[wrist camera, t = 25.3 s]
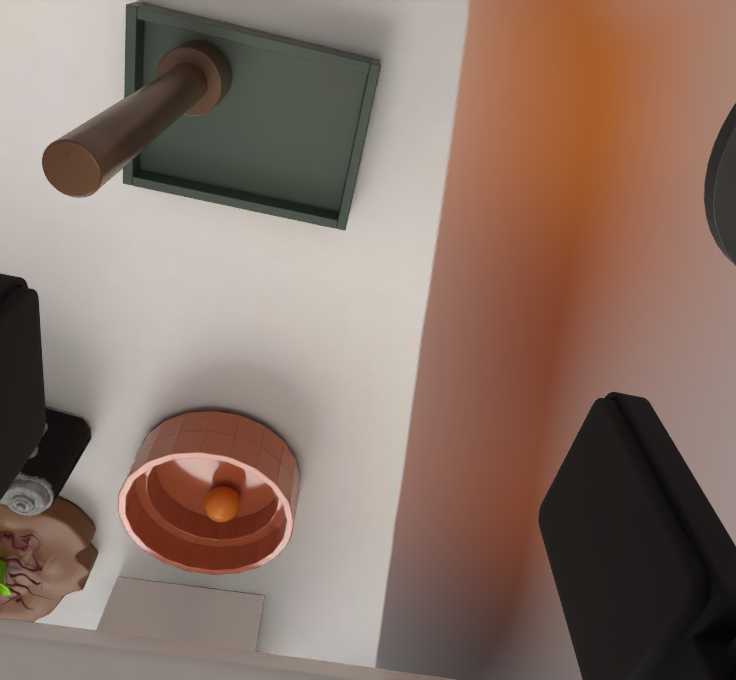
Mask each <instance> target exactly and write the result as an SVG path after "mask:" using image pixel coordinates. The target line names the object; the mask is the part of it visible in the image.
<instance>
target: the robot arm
mask: <svg viewBox="0 0 736 680" xmlns="http://www.w3.org/2000/svg"><path fill="white" fill-rule="evenodd" d="M45 425H46V413H45V397H44V380H43V364H42V347H41V330H40V314H39V299H38V294H37V292H36V291H35V290H34V289H29V288H28V285H27V283H26V281H25V280H24V279H23V278H20V277H15V276H10V275H5V274H0V501H1V499H2V498H3V496H4V495H5V493H6V492H7V490H8V489H9V487H10V486H11V484H12V483H13V481H14V480H15V478H16V477H17V475H18V474H19V472H20V471H21V469H22V468H23V466H24V465H25V463H26V462H27V460H28V459H29V458H30V456H31V455H32V453H33V452H34V450H35V449H36V447H37V446H38V444H39V442H40V441H41V439H42V436H43V434H44V430H45ZM539 526H540V530H541V534H542V537H543V541H544V544H545V548H546V551H547V555H548V558H549V562H550V565H551V569H552V573H553V576H554V579H555V583H556V586H557V590H558V594H559V597H560V601H561V604H562V608H563V611H564V615H565V619H566V622H567V626H568V629H569V633H570V636H571V640H572V643H573V647H574V650H575V654H576V658H577V661H578V665H579V668H580V672H581V675H582V679H583V680H736V546H735V544H734V543H733V541H732V539H731V538H730V536H729V534H728V533H727V531H726V529H725V528H724V526H723V524H722V523H721V521H720V519H719V518H718V516H717V514H716V513H715V511H714V509H713V508H712V506H711V504H710V503H709V501H708V499H707V498H706V496H705V494H704V493H703V491H702V489H701V488H700V486H699V484H698V483H697V481H696V479H695V478H694V476H693V474H692V473H691V471H690V469H689V468H688V466H687V464H686V463H685V461H684V459H683V458H682V456H681V454H680V452H679V451H678V449H677V448H676V446H675V444H674V442H673V441H672V439H671V438H670V436H669V434H668V432H667V431H666V429H665V428H664V426H663V424H662V423H661V421H660V419H659V418H658V416H657V414H656V412H655V411H654V409H653V408H652V406H651V404H650V403H649V401H648V400H647V399H645V398H642V397H637V396H632V395H627V394H622V393H617V392H612V393H609V394H608V395H607V396H606V397H605V398H599V399H597V400H596V401H595V402H594V404H593V406H592V407H591V409H590V411H589V413H588V415H587V417H586V419H585V421H584V423H583V425H582V427H581V429H580V431H579V432H578V434H577V436H576V438H575V440H574V442H573V444H572V446H571V448H570V450H569V452H568V454H567V456H566V458H565V460H564V462H563V464H562V465H561V467H560V469H559V471H558V473H557V475H556V477H555V479H554V481H553V483H552V485H551V487H550V489H549V491H548V493H547V495H546V496H545V498H544V500H543V502H542V504H541V507H540V511H539ZM0 680H456V679H449V678H442V677H435V676H427V675H420V674H413V673H406V672H398V671H392V670H385V669H377V668H370V667H363V666H356V665H348V664H341V663H334V662H327V661H319V660H312V659H305V658H298V657H290V656H283V655H276V654H268V653H261V652H254V651H246V650H239V649H232V648H224V647H217V646H210V645H202V644H195V643H187V642H180V641H172V640H164V639H157V638H149V637H142V636H134V635H126V634H119V633H111V632H104V631H96V630H89V629H81V628H73V627H66V626H58V625H51V624H43V623H35V622H28V621H20V620H13V619H5V618H0Z"/></svg>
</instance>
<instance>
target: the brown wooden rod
mask: <svg viewBox="0 0 736 680" xmlns="http://www.w3.org/2000/svg"><path fill="white" fill-rule="evenodd" d="M231 82H232V72H231V68H230V64H229V62H228V60H227V58H226V57H225V55H224V54H223V53H222V52H221V51H220V50H219V49H218V48H217V47H216V46H214V45H213V44H211V43H209V42H206V41H201V40H193V41H188V42H186V43H184V44H182V45H180V46H178V47H176V48H174V49H172V50H171V51H169V52H167V53H166V54H165V55H164V56H163V58H162V59H161V61H160V62H159V65H158V68H157V74H156V79H155V80H154V81H152V82H150V83H149V84H147V85H145V86H144V87H142V88H141V89H139V90H137V91H136V92H134V93H132V94H131V95H129V96H128V97H126V98H124V99H123V100H121V101H119V102H118V103H116V104H114V105H113V106H111V107H110V108H108V109H106V110H105V111H103V112H101V113H100V114H98V115H97V116H95V117H93V118H92V119H90V120H88V121H87V122H85V123H84V124H82V125H80V126H79V127H77V128H75V129H74V130H72V131H70V132H69V133H67V134H66V135H64V136H62V137H61V138H59V139H57V140H56V141H54V142H53V143H51V144H50V145H49V146H48V147H47V148H46V149H45V151H44V154H43V158H42V166H43V171H44V173H45V176H46V178H47V179H48V181H49V182H50V183H51V184H52V185H53V186H54V187H55V188H56V189H57V190H58V191H60V192H61V193H63V194H65V195H68V196H71V197H78V198H81V197H87V196H90V195H92V194H94V193H95V192H96V191H97V190H98V189H99V188H101V187H102V186H103V185H104V184H105V183H106V182H107V181H109V180H110V179H111V178H112V177H113V176H114V175H115V174H116V173H118V172H119V171H120V170H121V169H122V168H123V167H124V166H125V165H127V164H128V163H129V162H130V161H131V160H132V159H133V158H135V157H136V156H137V155H138V154H139V153H140V152H141V151H142V150H144V149H145V148H146V147H147V146H148V145H149V144H150V143H151V142H153V141H154V140H155V139H156V138H157V137H158V136H159V135H161V134H162V133H163V132H164V131H165V130H166V129H167V128H168V127H170V126H171V125H172V124H173V123H174V122H175V121H176V120H177V119H179V118H180V117H181V116H182V115H183V114H184V115H188V116H200V115H204V114H206V113H208V112H210V111H211V110H212V109H213V108H214V107H215V106H216V105H217V104H218V103H219V102H220V101H221V100H222V99H223V98H224V97H225V96H226V95H227V93H228V91H229V89H230V86H231Z"/></svg>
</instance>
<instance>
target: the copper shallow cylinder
mask: <svg viewBox="0 0 736 680" xmlns="http://www.w3.org/2000/svg"><path fill="white" fill-rule="evenodd" d="M299 485H300V476H299V471H298V466H297V461H296V459H295V457H294V456H293V454H292V453H291V451H290V450H289V448H288V447H287V445H286V444H285V442H284V441H283V440H282V439H280V438H279V437H278V436H277V435H275V434H274V433H273V432H272V431H270V430H269V429H268V428H267V427H265V426H263V425H261V424H259V423H257V422H254V421H252V420H250V419H248V418H245V417H243V416H240V415H235V414H229V413H223V412H218V411H205V412H191V413H185V414H182V415H179V416H177V417H174V418H171V419H168V420H166V421H164V422H163V423H161V424H160V425H159V426H158V427H156V428H155V429H154V430H153V431H151V432H150V433H149V434H148V435H147V436H146V438H145V440H144V442H143V444H142V446H141V447H140V449H139V451H138V453H137V456H136V458H135V460H134V462H133V464H132V466H131V468H130V470H129V473H128V475H127V477H126V479H125V481H124V483H123V485H122V488H121V490H120V492H119V500H118V513H119V516H120V518H121V521H122V523H123V525H124V528H125V530H126V532H127V533H128V535H129V536H130V537H131V538H132V539H133V540H134V541H135V542H136V543H137V544H138V545H139V547H140V548H141V549H143V550H144V551H146V552H147V553H149V554H151V555H152V556H154V557H155V558H157V559H158V560H160V561H162V562H163V563H166V564H169V565H172V566H174V567H177V568H180V569H183V570H185V571H191V572H197V573H204V574H211V575H212V574H213V575H217V574H235V573H241V572H244V571H248V570H251V569H255V568H258V567H260V566H262V565H264V564H265V563H267V562H269V561H270V560H272V559H273V558H275V557H277V556H278V555H279V554H280V552H281V551H282V550H283V548H284V547H285V546H286V545H287V543H288V542H289V541H290V538H291V534H292V530H293V525H294V520H295V513H296V506H297V499H298V492H299ZM221 486H226V487H230V488H232V489H233V490H235V491H236V493H237V494H238V496H239V498H240V508H239V511H238V513H237V515H236V516H235V517H234V518H233V519H231V520H229V521H227V522H216V521H214V520H212V519H211V518H209V517H208V515H207V514H206V511H205V507H204V504H205V499H206V497H207V495H208V494H209V492H210V491H212V490H213V489H215V488H217V487H221Z"/></svg>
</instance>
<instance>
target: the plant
mask: <svg viewBox="0 0 736 680" xmlns="http://www.w3.org/2000/svg"><path fill="white" fill-rule="evenodd" d="M94 532H95V528H94V526H93V525H92V523H91V522H90V520H89V519H88V517H87V516H86V515H85V514H84V513H83V512H82V511H81V510H80V509H79V508H78V507H76V506H75V505H73V504H72V503H70V502H68V501H66V500H63V499H61V498H58V497H57V499H56V500H55V502H54V504H53V505H51V506H50V507H49V508H47V509H46V510H44V511H42V512H41V513H39V514H37V515H33V516H27V515H21V514H18V513H16V512H14V511H13V510H11V509H10V508H9V507H8V506H7V505H4V504H0V618H5V619H13V620H20V621H28V622H34V621H36V620H37V619H39V618H41V617H44V616H46V615H48V614H49V613H51V612H52V611H53V610H54V608H55V607H56V606H57V605H58V604H59V602H60V601H61V600H62V598H63V597H64V596H65V595H66V594H68V593H71V592H74V591H79V590H83V588H84V586H85V584H86V581H87V579H88V577H89V574H90V571H91V569H92V567H93V564H94V562H95V560H96V558H97V551H96V550H95V548H94V547H93V546H92V545H91V544H90V541H91V539H92V537H93V535H94Z"/></svg>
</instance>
